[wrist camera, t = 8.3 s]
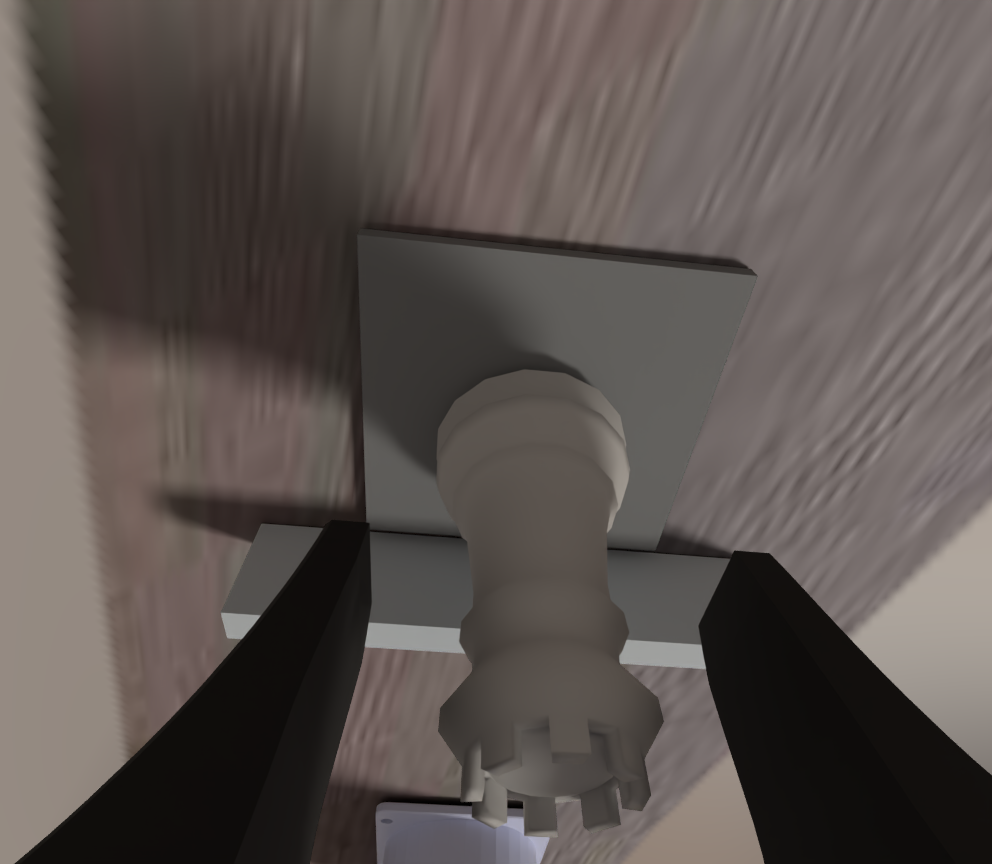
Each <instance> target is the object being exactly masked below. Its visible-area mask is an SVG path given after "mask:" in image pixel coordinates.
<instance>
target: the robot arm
mask: <svg viewBox="0 0 992 864" xmlns="http://www.w3.org/2000/svg"><path fill="white" fill-rule="evenodd" d="M371 606H372V589H371V554H370V523H366V522H352V521H339V520H331V521H330V522H329V523H327V524H326V525H325V526H324V528H323V530H322V531H321V533H320V534H319V536H318V538H317V539H316V541H315V542H314V544H313V545H312V547H311V548H310V550H309V551H308V553H307V554H306V556H305V557H304V559H303V560H302V561H301V563H300V564H299V566H298V567H297V569H296V570H295V571H294V573H293V574H292V575H291V577H290V578H289V580H288V581H287V582H286V584H285V585H284V586H283V588H282V589H281V590H280V592H279V593H278V594H277V596H276V597H275V598H274V599H273V601H272V602H271V603H270V605H269V606H268V607H267V608H266V610H265V611H264V612H263V613H262V615H261V616H260V617H259V619H258V620H257V621H256V622H255V624H254V625H253V626H252V627H251V629H250V630H249V631H248V632H247V634H246V635H245V636H244V637H243V638H242V640H241V641H240V642H239V643H238V644H237V645H236V647H235V648H234V649H233V650H232V651H231V652H230V653H229V655H228V656H227V657H226V658H225V659H224V660H223V662H222V663H221V664H220V665H219V666H218V667H217V669H216V670H215V671H214V672H213V673H212V674H211V675H210V677H209V678H208V679H207V680H206V681H205V682H204V683H203V685H202V686H201V687H200V688H199V689H198V690H197V691H196V692H195V693H194V694H193V695H192V696H191V698H190V699H189V700H188V701H187V702H186V703H185V704H184V705H183V706H182V707H181V708H180V709H179V710H178V711H177V712H176V714H175V715H174V716H173V717H172V718H171V719H170V720H169V721H168V722H167V723H166V724H165V725H164V726H163V727H162V728H161V729H160V730H159V731H158V732H157V733H156V734H155V735H154V736H153V737H152V738H151V739H150V740H149V741H148V742H147V743H146V744H145V745H144V746H143V747H142V748H141V749H140V750H139V751H138V752H137V753H136V754H135V755H134V756H133V757H132V758H131V759H130V760H129V761H128V762H127V763H126V764H125V765H123V766H122V767H121V768H120V769H119V770H118V771H117V772H116V773H115V774H114V775H113V776H112V777H111V778H110V779H109V780H108V781H107V782H106V783H105V784H104V785H102V786H101V787H100V788H99V789H98V790H97V791H96V792H95V793H94V794H93V795H92V796H91V797H90V798H89V799H88V800H87V801H85V802H84V804H82V805H81V806H80V807H79V808H78V809H77V810H76V811H75V812H73V813H72V814H71V815H70V816H69V817H68V818H67V819H66V820H65V821H63V822H62V823H61V824H60V825H59V826H58V827H57V828H56V829H54V830H53V831H52V832H51V833H50V834H49V835H48V836H47V837H45V838H44V839H43V840H42V841H41V842H40V843H38V844H37V845H36V846H35V847H34V848H32V849H31V850H30V851H29V852H28V853H27V854H25V855H24V856H23V857H22V858H21V859H20V860H18V861H17V862H16V863H15V864H310V860H311V855H312V849H313V844H314V839H315V834H316V830H317V826H318V821H319V817H320V813H321V809H322V805H323V801H324V797H325V794H326V790H327V786H328V783H329V779H330V776H331V772H332V769H333V765H334V761H335V758H336V754H337V751H338V747H339V743H340V740H341V736H342V733H343V729H344V726H345V722H346V718H347V715H348V711H349V708H350V704H351V700H352V697H353V693H354V689H355V686H356V682H357V678H358V675H359V671H360V667H361V664H362V659H363V653H364V647H365V642H366V636H367V630H368V624H369V618H370V612H371ZM698 628H699V633H700V639H701V645H702V651H703V656H704V661H705V666H706V671H707V676H708V681H709V685H710V689H711V692H712V695H713V699H714V702H715V705H716V708H717V711H718V714H719V718H720V721H721V724H722V727H723V730H724V733H725V737H726V740H727V743H728V746H729V749H730V752H731V755H732V758H733V761H734V764H735V767H736V770H737V773H738V777H739V780H740V783H741V785H742V789H743V792H744V795H745V798H746V801H747V804H748V807H749V810H750V814H751V817H752V820H753V823H754V826H755V830H756V833H757V837H758V841H759V844H760V847H761V851H762V855H763V858H764V863H765V864H992V775H991V774H990V773H988V772H987V771H986V770H985V769H984V768H983V767H981V766H980V765H979V764H978V763H977V762H976V761H975V760H973V759H972V758H971V757H970V756H969V755H968V754H967V753H966V752H965V751H964V750H962V749H961V748H960V747H959V746H958V745H957V744H956V743H955V742H954V741H953V740H951V739H950V738H949V737H948V736H947V735H946V734H945V733H944V732H943V731H942V730H941V729H940V728H939V727H938V726H936V724H935V723H934V722H932V721H931V720H930V719H929V718H928V717H927V716H926V715H925V714H924V713H923V712H922V711H921V710H920V709H919V708H918V707H917V706H916V705H915V704H914V703H913V702H912V701H911V700H909V699H908V698H907V697H906V696H905V695H904V694H903V693H902V692H901V691H900V690H899V689H898V688H897V687H896V686H895V685H894V684H893V683H892V682H891V681H890V680H889V679H888V678H887V677H886V676H885V675H884V674H883V673H882V672H881V671H880V670H879V668H878V667H876V665H874V663H872V661H871V660H870V659H869V658H868V657H867V656H866V655H865V654H864V653H863V652H862V651H861V650H860V649H859V648H858V647H857V646H856V645H855V644H854V643H853V642H852V640H851V639H850V638H849V637H848V636H847V635H846V634H845V633H844V632H843V631H842V630H841V629H840V628H839V627H838V626H837V625H836V623H835V622H834V621H833V620H832V619H831V618H830V617H829V616H828V615H827V614H826V613H825V612H824V611H823V610H822V608H821V607H820V606H819V605H818V604H817V603H816V602H815V601H814V600H813V599H812V598H811V597H810V596H809V594H808V593H807V592H806V591H805V590H804V589H803V588H802V587H801V586H800V585H799V584H798V583H797V582H796V580H795V579H794V578H793V577H792V576H791V575H790V574H789V573H788V572H787V571H786V570H785V569H784V568H783V567H782V566H781V565H780V564H779V563H778V562H777V561H776V560H775V559H774V557H773V556H772V555H771V554H770V553H758V552H745V551H734V553H733V555H732V557H731V559H730V561H729V563H728V565H727V567H726V569H725V571H724V573H723V575H722V577H721V580H720V582H719V584H718V586H717V588H716V590H715V592H714V594H713V596H712V598H711V600H710V602H709V604H708V606H707V608H706V610H705V613H704V615H703V617H702V619H701V621H700V623H699V625H698ZM549 838H550V837H532V836H524V813H523V809H517V808H507V823H505V824H503V825H501V826H499V827H497V828H495V829H493V828H491V827H489V826H487V825H485V824H483V823H482V822H480V821H478V820H476V819H474V818H472V806H457V805H437V804H417V803H397V802H383V803H380V804H379V805H377V808H376V843H377V864H540V862H541V860H542V857H543V854H544V852H545V849H546V846H547V844H548V841H549Z"/></svg>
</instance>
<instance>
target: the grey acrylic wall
mask: <svg viewBox="0 0 992 864" xmlns="http://www.w3.org/2000/svg"><path fill="white" fill-rule="evenodd" d="M322 530H323V528H315V527H302V526H289V525H276V524H262V523H261V526H260V528H259V530H258V532H257V534H256V537H255V539H254V541H253V543H252V545H251V547H250V550H249V552H248V554H247V556H246V558H245V561H244V563H243V565H242V567H241V569H240V572H239V574H238V576H237V578H236V580H235V583H234V585H233V587H232V589H231V591H230V593H229V596H228V598H227V600H226V602H225V604H224V607H223V609H222V611H221V616H222V619H223V623H224V627H225V631H226V635H227V638H233V639H242V638H243V637H244V636H245V635H246V634H247V632H248V631H249V630H250V629H251V627H252V626H253V625H254V624H255V622H256V621H257V620H258V619H259V617H260V616H261V615H262V613H263V612H264V611H265V610H266V608H267V607H268V606H269V605H270V603H271V602H272V601H273V599H274V598H275V597H276V596H277V594H278V593H279V592H280V590H281V589H282V588H283V586H284V585H285V584H286V582H287V581H288V580H289V578H290V577H291V575H292V574H293V573H294V571H295V570H296V569H297V567H298V566H299V564H300V563H301V561H302V560H303V559H304V557H305V556H306V554H307V553H308V551H309V550H310V548H311V547H312V545H313V544H314V542H315V541H316V539H317V538H318V536H319V534H320V533H321V531H322ZM370 554H371V589H372V606H371V612H370V618H369V624H368V630H367V636H366V642H365V647H373V648H388V649H404V650H419V651H435V652H450V653H465V652H464V650H463V648H462V646H461V644H460V643H459V637H460V628H461V621H462V620H463V619H464V617H465V616H466V615H467V614H468V612H469V611H470V610H471V609H472V607H473V585H472V577H471V569H470V561H469V553H468V545H467V541H466V540H464V539H461V538H448V537H434V536H421V535H408V534H395V533H381V532H370ZM729 561H730V559H726V558H712V557H699V556H686V555H673V554H660V553H646V552H633V551H620V550H607V572H608V589H609V594H610V599H611V601H612V602H613V603H614V604H615V605H617V606H618V607H619V608H620V609H621V610H622V611H623V612H624V615H625V618H626V622H627V626H628V629H629V635H628V638H627V640H626V643H625V646H624V648H623V651H622V653H621V654H620V656H619V659H620V664H636V665H651V666H667V667H682V668H698V669H706V666H705V661H704V656H703V651H702V645H701V639H700V633H699V628H698V625H699V623H700V621H701V619H702V617H703V615H704V613H705V610H706V608H707V606H708V604H709V602H710V600H711V598H712V596H713V594H714V592H715V590H716V588H717V586H718V584H719V582H720V580H721V577H722V575H723V573H724V571H725V569H726V567H727V565H728V563H729Z"/></svg>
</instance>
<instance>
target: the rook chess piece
mask: <svg viewBox="0 0 992 864" xmlns="http://www.w3.org/2000/svg"><path fill="white" fill-rule="evenodd" d="M436 459H437V476H436V484H437V487H438V491H439V494H440V496H441V498H442V500H443V502H444V505H445V507H446V509H447V511H448V513H449V515H450V517H451V519H452V520H453V521H454V522H455V523H456V525H457V527H458V529H459V532H460V534H461V536H462V538H463V539H464V540H466V541H467V545H468V553H469V561H470V569H471V577H472V585H473V607H472V609H471V610H470V611H469V612H468V614H467V615H466V616H465V617H464V619H463V620H462V621H461V628H460V637H459V643H460V644H461V646H462V648H463V650H464V652H465V654H466V655H467V657H468V659H469V661H470V662H471V663H472V672H471V674H470V675H469V676H468V677H467V678H466V679H465V680H464V682H463V683H462V684H461V685H460V686H459V687H458V688H457V690H456V691H455V692H454V693H453V694H452V695H451V696H450V698H449V699H448V700H447V701H446V702H445V703H444V704H443V706H442V707H441V708H440V717H439V728H438V732H439V733H440V735H441V736H442V738H443V739H444V741H445V742H446V744H447V745H448V746H449V748H450V749H451V751H452V752H453V754H454V755H455V757H456V758H457V760H458V761H459V763H460V764H461V766H462V778H461V799H460V802H472V818H474V819H476V820H478V821H480V822H482V823H483V824H485V825H487V826H489V827H491V828H493V829H495V828H497V827H499V826H501V825H503V824H505V823H507V798H511V799H515V800H519V801H523V813H524V836H532V837H553V838H558V832H557V818H556V804H555V803H562V802H569V801H577V800H581V806H582V816H583V826H584V827H585V828H586V829H587V830H588V831H589V832H590V833H591V834H593V833H596V832H599V831H602V830H605V829H609V828H612V827H615V826H618V825H621V823H620V816H619V810H618V803H617V796H616V789H617V788H619V790H620V797H621V803H622V808H623V809H630V810H637V811H642V810H643V808H644V807H645V805H646V803H647V801H648V799H649V798H650V796H651V792H650V787H649V781H648V776H647V771H646V766H645V761H644V759H645V757H646V755H647V753H648V751H649V749H650V747H651V745H652V744H653V742H654V740H655V738H656V736H657V734H658V732H659V730H660V728H661V726H662V724H663V722H664V720H663V716H662V712H661V708H660V704H659V700H658V697H656V696H655V695H654V694H653V693H652V692H651V691H650V690H648V689H647V688H646V687H645V686H644V685H643V684H642V683H641V682H639V681H638V680H637V679H636V678H635V677H634V676H633V675H632V674H630V673H629V672H628V671H627V670H626V669H625V668H624V667H622V666H621V665H620V659H619V656H620V654H621V653H622V651H623V648H624V646H625V643H626V640H627V638H628V635H629V629H628V626H627V622H626V618H625V615H624V612H623V611H622V610H621V609H620V608H619V607H618V606H617V605H615V604H614V603H613V602H612V601H611V599H610V594H609V589H608V572H607V533H608V531H609V530H610V529H611V528H612V525H613V521H614V518H615V515H616V512H617V511H618V510H619V509H620V507H621V503H622V500H623V497H624V493H625V490H626V487H627V484H628V480H629V473H630V467H629V462H628V457H627V453H626V441H625V436H624V431H623V427H622V422H621V417H620V415H619V414H618V412H617V411H616V410H615V409H614V407H613V406H612V405H611V404H610V403H609V401H608V400H607V399H606V398H605V397H604V395H603V394H602V393H601V392H600V391H599V390H598V389H596V388H594V387H592V386H590V385H588V384H586V383H584V382H582V381H580V380H578V379H576V378H574V377H572V376H570V375H568V374H566V373H559V372H548V371H538V370H527V369H523V370H520V371H516V372H512V373H508V374H504V375H500V376H496V377H492V378H488V379H485V380H483V381H482V382H481V383H479V384H478V385H476V386H475V387H474V388H472V389H471V390H469V391H468V392H466V393H465V394H464V395H462V396H461V397H459V398H458V399H457V400H455V401H454V403H453V405H452V406H451V408H450V410H449V411H448V413H447V415H446V416H445V418H444V420H443V421H442V423H441V425H440V426H439V428H438V439H437V456H436Z"/></svg>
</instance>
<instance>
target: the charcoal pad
mask: <svg viewBox="0 0 992 864" xmlns="http://www.w3.org/2000/svg"><path fill="white" fill-rule="evenodd" d="M357 251H358V281H359V312H360V342H361V372H362V402H363V432H364V462H365V492H366V523H370V529H372V530H385V531H398V532H411V533H424V534H438V535H451V536H461V534H460V532H459V529H458V527H457V525H456V523H455V522H454V521H453V520H452V519H451V517H450V515H449V513H448V511H447V509H446V507H445V505H444V502H443V500H442V498H441V496H440V494H439V491H438V487H437V484H436V476H437V459H436V456H437V439H438V428H439V426H440V425H441V423H442V421H443V420H444V418H445V416H446V415H447V413H448V411H449V410H450V408H451V406H452V405H453V403H454V401H455V400H457V399H458V398H459V397H461V396H462V395H464V394H465V393H466V392H468V391H469V390H471V389H472V388H474V387H475V386H476V385H478V384H479V383H481V382H482V381H483V380H485V379H488V378H492V377H496V376H500V375H504V374H508V373H512V372H516V371H520V370H523V369H527V370H538V371H548V372H559V373H566V374H568V375H570V376H572V377H574V378H576V379H578V380H580V381H582V382H584V383H586V384H588V385H590V386H592V387H594V388H596V389H598V390H599V391H600V392H601V393H602V394H603V395H604V397H605V398H606V399H607V400H608V401H609V403H610V404H611V405H612V406H613V407H614V409H615V410H616V411H617V412H618V414H619V415H620V417H621V422H622V427H623V431H624V436H625V441H626V453H627V457H628V462H629V467H630V473H629V480H628V484H627V487H626V490H625V493H624V497H623V500H622V503H621V507H620V509H619V510H618V511H617V512H616V515H615V518H614V521H613V525H612V528H611V529H610V530H609V531H608V533H607V547H609V548H622V549H636V550H649V551H655V550H656V548H657V545H658V542H659V540H660V537H661V534H662V531H663V529H664V526H665V523H666V521H667V518H668V515H669V513H670V510H671V507H672V505H673V502H674V499H675V497H676V494H677V491H678V489H679V486H680V483H681V481H682V478H683V475H684V473H685V470H686V467H687V465H688V462H689V459H690V456H691V454H692V451H693V448H694V446H695V443H696V440H697V438H698V435H699V432H700V430H701V427H702V424H703V422H704V419H705V416H706V414H707V411H708V408H709V406H710V403H711V400H712V398H713V395H714V392H715V389H716V387H717V384H718V381H719V379H720V376H721V373H722V371H723V368H724V365H725V363H726V360H727V357H728V355H729V352H730V349H731V347H732V344H733V341H734V339H735V336H736V333H737V331H738V328H739V325H740V323H741V320H742V317H743V314H744V312H745V309H746V306H747V304H748V301H749V298H750V296H751V293H752V290H753V288H754V285H755V282H756V280H757V277H758V276H757V275H756V274H755V273H754V272H753V271H752V269H747V268H737V267H728V266H718V265H708V264H699V263H689V262H680V261H670V260H660V259H651V258H641V257H632V256H622V255H612V254H603V253H593V252H584V251H574V250H564V249H555V248H545V247H535V246H526V245H516V244H507V243H497V242H487V241H478V240H468V239H459V238H449V237H439V236H430V235H420V234H411V233H401V232H391V231H382V230H372V229H363V228H361V229H360V230H359V232H358V234H357Z"/></svg>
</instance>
